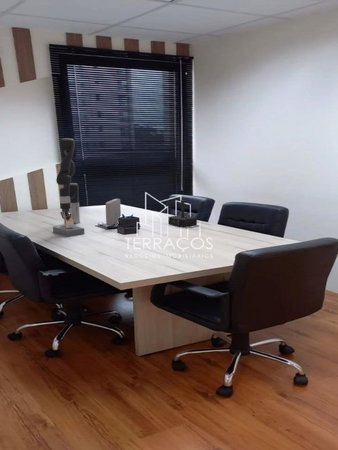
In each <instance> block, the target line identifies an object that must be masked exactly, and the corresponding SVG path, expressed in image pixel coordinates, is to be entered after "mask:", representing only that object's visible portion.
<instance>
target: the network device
mask: <svg viewBox="0 0 338 450" xmlns="http://www.w3.org/2000/svg"><path fill="white" fill-rule="evenodd" d="M121 207H122V206H121V198H114V199H112V200H109V201H107V202H105V223H106V225H108V226H114V225H113V224H118V223H117V222H119V221H118V217H120V216H121V217H122V213H121V211H122V210H121ZM106 225H105V226H106Z"/></svg>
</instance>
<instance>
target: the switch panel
mask: <svg viewBox="0 0 338 450" xmlns="http://www.w3.org/2000/svg"><path fill="white" fill-rule="evenodd" d="M52 232H53V233H55V234H58V235H62V236H65V237H73V236H78V235H85V228H84V227H80V226H78V225H74V227H73V228H66V225H65V224H63V225H56V226H52Z"/></svg>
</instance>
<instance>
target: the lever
mask: <svg viewBox="0 0 338 450" xmlns="http://www.w3.org/2000/svg"><path fill="white" fill-rule="evenodd" d="M65 222H66V228H73V227H74V226H75V225H74V224H75V223H74V221H73V219H67V220H65ZM65 222H64V223H65Z"/></svg>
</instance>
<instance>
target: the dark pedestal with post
mask: <svg viewBox="0 0 338 450" xmlns="http://www.w3.org/2000/svg"><path fill="white" fill-rule="evenodd" d="M185 203H186V200H184V199H181V200H180V205H181V206H180V208H181V210H180V211H181V212H180V213H181V214H178V215H172V216H168V217H167V219H168V225H171V226H176V227H182V228H188V227H193V226H197V224H198V217H195V216H189V215H185Z"/></svg>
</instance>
